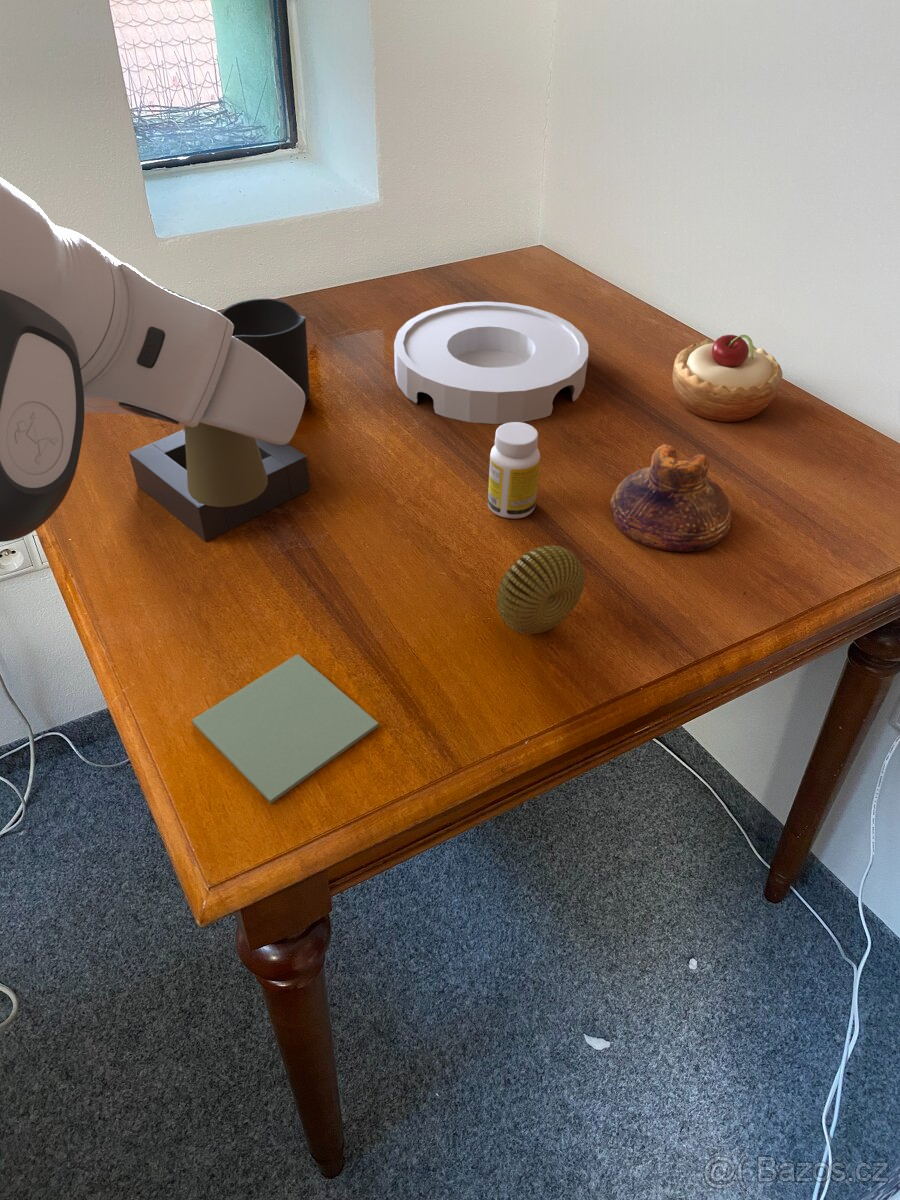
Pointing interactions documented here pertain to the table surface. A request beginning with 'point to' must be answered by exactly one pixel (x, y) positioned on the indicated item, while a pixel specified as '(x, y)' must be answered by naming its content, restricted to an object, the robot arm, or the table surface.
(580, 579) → the sculpture
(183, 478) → the holder stand
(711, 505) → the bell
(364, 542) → the table surface
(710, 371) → the pastry
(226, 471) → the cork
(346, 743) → the mat
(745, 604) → the table surface
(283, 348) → the pen holder
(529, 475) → the supplement bottle
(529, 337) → the ashtray
